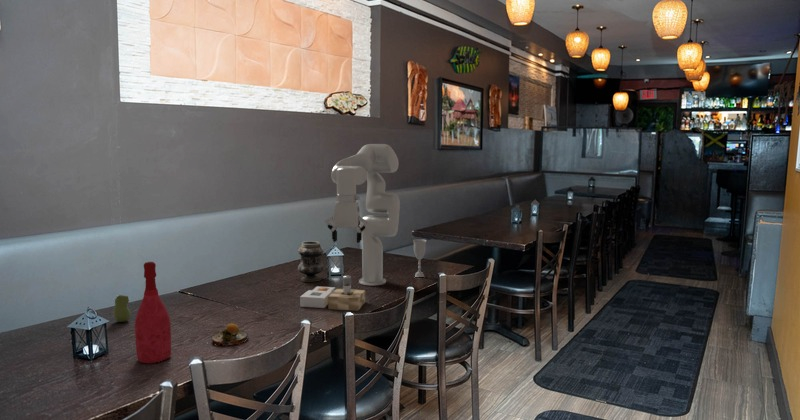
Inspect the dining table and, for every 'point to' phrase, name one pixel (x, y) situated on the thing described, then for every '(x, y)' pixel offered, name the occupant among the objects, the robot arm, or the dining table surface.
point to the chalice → (419, 253)
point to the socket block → (316, 297)
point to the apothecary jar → (310, 260)
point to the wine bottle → (152, 323)
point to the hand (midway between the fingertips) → (346, 241)
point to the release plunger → (323, 289)
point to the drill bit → (347, 285)
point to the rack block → (346, 300)
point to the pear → (121, 309)
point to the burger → (230, 336)
